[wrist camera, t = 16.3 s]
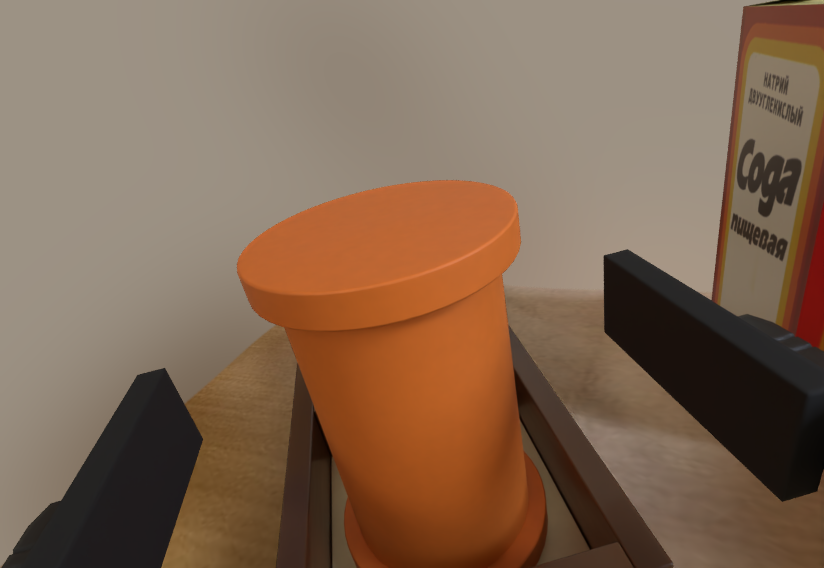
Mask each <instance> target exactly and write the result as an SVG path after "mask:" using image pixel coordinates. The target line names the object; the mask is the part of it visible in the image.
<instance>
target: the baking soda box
mask: <svg viewBox="0 0 824 568" xmlns="http://www.w3.org/2000/svg"><path fill="white" fill-rule="evenodd" d="M712 301H713V302H715V303H716V304H718V305H720V306H721V307H723V308H724V309H726V310H728V311H729V312H731V313H733V314H734V315H736V316H741V315H745V314H749V315H752V316H755V317H759V318H762V319H765V320H768V321H771V322H774V323H775V324H777V325H779V326H781V327H782V328H784V329H786V330H788V331H789V332H791V333H793V334H794V336H795V337H797V336H798V337H800V338H801V339H803V340H805V341H807V342H808V343H810V344H811V346H812V347H817V348H819V349H821V350H822V351H824V0H775V1H770V2H765V3H760V4H755V5H750V6H745V7H743V16H742V26H741V35H740V44H739V53H738V62H737V72H736V81H735V90H734V100H733V108H732V117H731V126H730V136H729V145H728V154H727V163H726V172H725V182H724V192H723V200H722V209H721V218H720V228H719V237H718V246H717V255H716V264H715V273H714V283H713V292H712Z"/></svg>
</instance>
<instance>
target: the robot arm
mask: <svg viewBox="0 0 824 568" xmlns="http://www.w3.org/2000/svg"><path fill="white" fill-rule="evenodd" d="M604 330H605V333H606V334H607V335H608V336H609V337H610V338H611V339H612V340H613V341H614V342H616V343H617V344H618V345H619V346H620V347H621V348H622V349H623V350H624V351H625V352H626V353H627V354H628V355H629V356H630V357H631V358H632V359H633V360H634V361H635V362H636V363H637V364H639V365H640V366H641V367H642V368H643V369H644V370H645V371H646V372H647V373H648V374H649V375H650V376H651V377H652V378H653V379H654V380H655V381H656V382H657V383H658V384H659V385H661V386H662V387H663V388H664V389H665V390H666V391H667V392H668V393H669V394H670V395H671V396H672V397H673V398H674V399H675V400H676V401H677V402H678V403H679V404H680V405H681V406H682V407H684V408H685V409H686V410H687V411H688V412H689V413H690V414H691V415H692V416H693V417H694V418H695V419H696V420H697V421H698V422H699V423H700V424H701V425H702V426H703V427H704V428H705V429H707V430H708V431H709V432H710V433H711V434H712V435H713V436H714V437H715V438H716V439H717V440H718V441H719V442H720V443H721V444H722V445H723V446H724V447H725V448H726V449H727V450H728V451H730V452H731V453H732V454H733V455H734V456H735V457H736V458H737V459H738V460H739V461H740V462H741V463H742V464H743V465H744V466H745V467H746V468H747V469H748V470H749V471H750V472H751V473H753V474H754V475H755V476H756V477H757V478H758V479H759V480H760V481H761V482H762V483H763V484H764V485H765V486H766V487H767V488H768V489H769V490H770V491H771V492H772V493H773V494H774V495H776V496H777V497H778V498H779V499H780V500H781V501H782V502H783V501H786V500H789V499H793V498H796V497H799V496H803V495H806V494H810V493H813V492H816V491H817V490H818V486H819V483H820V479H821V476H822V472H823V469H824V351H822V350H821V349H819V348H817V347H812V346H811V344H810V343H808V342H807V341H805V340H803V339H801V338H800V337H798V336H797V337H795V336H794V334H793V333H791V332H789V331H788V330H786V329H784V328H782V327H781V326H779V325H777V324H775V323H774V322H771V321H768V320H765V319H762V318H759V317H755V316H752V315H749V314H745V315H741V316H736V315H734V314H733V313H731V312H729V311H728V310H726V309H724V308H723V307H721V306H720V305H718V304H716V303H715V302H713V301H711V300H710V299H708V298H706V297H705V296H703V295H701V294H700V293H698V292H697V291H695V290H693V289H692V288H690V287H688V286H687V285H685V284H683V283H682V282H680V281H679V280H677V279H675V278H673V277H672V276H670V275H669V274H667V273H665V272H664V271H662V270H660V269H659V268H657V267H656V266H654V265H652V264H651V263H649V262H647V261H645V260H644V259H642V258H641V257H639V256H638V255H636V254H634V253H633V252H631V251H629V250H623V251H620V252H616V253H612V254H608V255H604ZM202 441H203V438H202V436H201V434H200V432H199V431H198V429H197V427H196V425H195V423H194V421H193V419H192V418H191V416H190V414H189V412H188V410H187V408H186V406H185V405H184V403H183V401H182V399H181V397H180V395H179V393H178V391H177V390H176V388H175V386H174V384H173V382H172V380H171V379H170V377H169V375H168V373H167V371H166V369H165V368H163V369H159V370H155V371H151V372H147V373H143V374H140V375H137V377H136V379H135V380H134V382H133V384H132V385H131V387H130V388H129V390H128V392H127V394H126V395H125V397H124V398H123V400H122V401H121V403H120V405H119V407H118V408H117V410H116V411H115V413H114V415H113V416H112V418H111V420H110V421H109V423H108V425H107V426H106V428H105V429H104V431H103V433H102V434H101V436H100V438H99V439H98V441H97V443H96V444H95V446H94V448H93V449H92V451H91V452H90V454H89V456H88V457H87V459H86V461H85V462H84V464H83V466H82V467H81V469H80V471H79V472H78V474H77V476H76V477H75V479H74V480H73V482H72V484H71V485H70V487H69V489H68V490H67V492H66V494H65V496H64V497H63V499H62V500H61V501H58V502H55V503H52V504H50V505H49V506H48V507H47V508H46V509H45V510H44V511H43V512H42V513H41V514H40V515H39V516H38V517H37V518H36V519H35V520H34V521H33V522H32V523H31V524H30V525H29V526H28V528H27V529H26V531H25V532H24V534H23V535H22V537H21V538H20V540H19V541H18V543H17V545H16V546H15V548H14V549H13V554H12V555H9V557H8V558H7V560H6V562H5V563H4V565H3V566H2V568H161V566H162V563H163V560H164V557H165V554H166V551H167V548H168V545H169V542H170V539H171V536H172V533H173V530H174V527H175V524H176V520H177V517H178V514H179V511H180V508H181V505H182V502H183V499H184V496H185V493H186V490H187V487H188V484H189V481H190V478H191V475H192V472H193V469H194V466H195V463H196V460H197V456H198V453H199V450H200V447H201V444H202Z"/></svg>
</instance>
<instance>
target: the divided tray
mask: <svg viewBox="0 0 824 568" xmlns="http://www.w3.org/2000/svg"><path fill="white" fill-rule="evenodd" d="M508 328H509V336H510V344H511V353H512V361H513V369H514V378H515V386H516V394H517V402H518V411H519V419H520V427H521V436H522V444H523V450H524V451H525V453H526V454H527V455H528V456H529V457H530V459H531V460H532V461H533V463H534V465H535V466H536V468H537V470H538V472H539V474H540V476H541V479H542V481H543V485H544V489H545V495H546V505H547V515H548V528H547V536H546V541H545V546H544V548H543V551H542V554H541V557H540V559H539V561H538V563H537V564H536V566H533V567H529V568H673V562H672V561H671V560H670V558H669V557H668V555H667V554H666V552H665V551H664V549H663V548H662V547H661V545H660V544H659V542H658V541H657V539H656V538H655V536H654V535H653V534H652V532H651V531H650V529H649V528H648V526H647V525H646V523H645V522H644V520H643V519H642V518H641V516H640V515H639V513H638V512H637V510H636V509H635V507H634V506H633V505H632V503H631V502H630V500H629V499H628V497H627V496H626V494H625V493H624V492H623V490H622V489H621V487H620V486H619V484H618V483H617V481H616V480H615V479H614V477H613V476H612V474H611V473H610V471H609V470H608V468H607V467H606V465H605V464H604V463H603V461H602V460H601V458H600V457H599V455H598V454H597V452H596V451H595V450H594V448H593V447H592V445H591V444H590V442H589V441H588V439H587V438H586V437H585V435H584V434H583V432H582V431H581V429H580V428H579V426H578V425H577V424H576V422H575V421H574V419H573V418H572V416H571V415H570V413H569V412H568V410H567V409H566V408H565V406H564V405H563V403H562V402H561V400H560V399H559V397H558V396H557V395H556V393H555V392H554V390H553V389H552V387H551V386H550V384H549V383H548V382H547V380H546V379H545V377H544V376H543V374H542V373H541V371H540V370H539V369H538V367H537V366H536V364H535V363H534V361H533V360H532V358H531V357H530V355H529V354H528V353H527V351H526V350H525V348H524V347H523V345H522V344H521V342H520V341H519V340H518V338H517V337H516V335H515V334H514V332H513V331H512V329H511V328H510V327H509V325H508ZM347 497H348V495H347V493H346V490H345V487H344V485H343V482H342V479H341V477H340V474H339V471H338V469H337V466H336V463H335V461H334V458H333V455H332V453H331V450H330V447H329V445H328V442H327V440H326V437H325V434H324V432H323V429H322V426H321V424H320V421H319V418H318V416H317V413H316V410H315V408H314V405H313V402H312V400H311V397H310V394H309V392H308V389H307V386H306V384H305V381H304V378H303V376H302V373H301V370H300V368H299V365H298V362H297V372H296V381H295V391H294V401H293V410H292V420H291V429H290V439H289V449H288V458H287V468H286V477H285V487H284V496H283V506H282V516H281V525H280V535H279V544H278V554H277V563H276V568H357V567H356V565H355V563H354V560H353V558H352V556H351V553H350V551H349V548H348V545H347V541H346V537H345V530H344V512H345V506H346V501H347Z"/></svg>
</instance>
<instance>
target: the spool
mask: <svg viewBox="0 0 824 568" xmlns="http://www.w3.org/2000/svg"><path fill="white" fill-rule="evenodd" d="M520 244H521V237H520V226H519V217H518V207H517V204H516V201H515V200H514V198H513V197H512V196H511V195H510V194H509V193H508V192H506V191H505V190H503V189H501V188H498V187H495V186H493V185H488V184H484V183H479V182H472V181H459V180H458V181H457V180H439V181H423V182H413V183H405V184H399V185H392V186H387V187H381V188H376V189H372V190H367V191H363V192H360V193H356V194H352V195H348V196H345V197H341V198H338V199H335V200H332V201H329V202H326V203H323V204H320V205H318V206H315V207H313V208H310V209H307V210H305V211H303V212H300V213H298V214H296V215H294V216H291V217H290V218H287V219H286V220H284V221H282V222H280V223H278V224H276V225H275V226H273V227H271V228H270V229H268V230H266V231H265V232H264V233H262V234H261V235H259V236H258V237H257V238H255V239H254V240H253V241H252V242H251V243H250V244H249V245H248V246H247V247H246V248H245V249H244V250H243V252H242V253H241V255H240V257H239V259H238V263H237V273H238V276H239V278H240V281H241V283H242V286H243V288H244V291H245V293H246V296H247V298H248V301H249V303H250V305H251V307H252V309H253V310H254V311H255V312H256V313H257V314H258V315H259V316H260V317H262V318H264V319H265V320H267V321H269V322H271V323H274V324H276V325H279V326H281V327H284V328H285V330H286V333H287V336H288V338H289V341H290V344H291V346H292V349H293V352H294V354H295V357H296V360H297V362H298V365H299V368H300V370H301V373H302V376H303V378H304V381H305V384H306V386H307V389H308V392H309V394H310V397H311V400H312V402H313V405H314V408H315V410H316V413H317V416H318V418H319V421H320V424H321V426H322V429H323V432H324V434H325V437H326V440H327V442H328V445H329V447H330V450H331V453H332V455H333V458H334V461H335V463H336V466H337V469H338V471H339V474H340V477H341V479H342V482H343V485H344V487H345V490H346V493H347V495H348V497H347V501H346V506H345V512H344V530H345V537H346V541H347V545H348V548H349V551H350V553H351V556H352V558H353V560H354V563H355V565H356V567H357V568H529V567H533V566H536V564H537V563H538V561H539V559H540V557H541V554H542V551H543V548H544V546H545V541H546V536H547V528H548V515H547V505H546V495H545V489H544V485H543V481H542V479H541V476H540V474H539V472H538V470H537V468H536V466H535V465H534V463H533V461H532V460H531V459H530V457H529V456H528V455H527V454H526V453H525V451H524V450H523V444H522V436H521V427H520V419H519V411H518V402H517V394H516V386H515V378H514V369H513V361H512V353H511V344H510V336H509V328H508V320H507V311H506V303H505V295H504V286H503V279H502V273H504V272H505V271H506V270H507V268H508V267H509V266H510V265H511V264H512V262H513V261H514V259H515V258H516V256H517V254H518V252H519V249H520Z"/></svg>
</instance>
